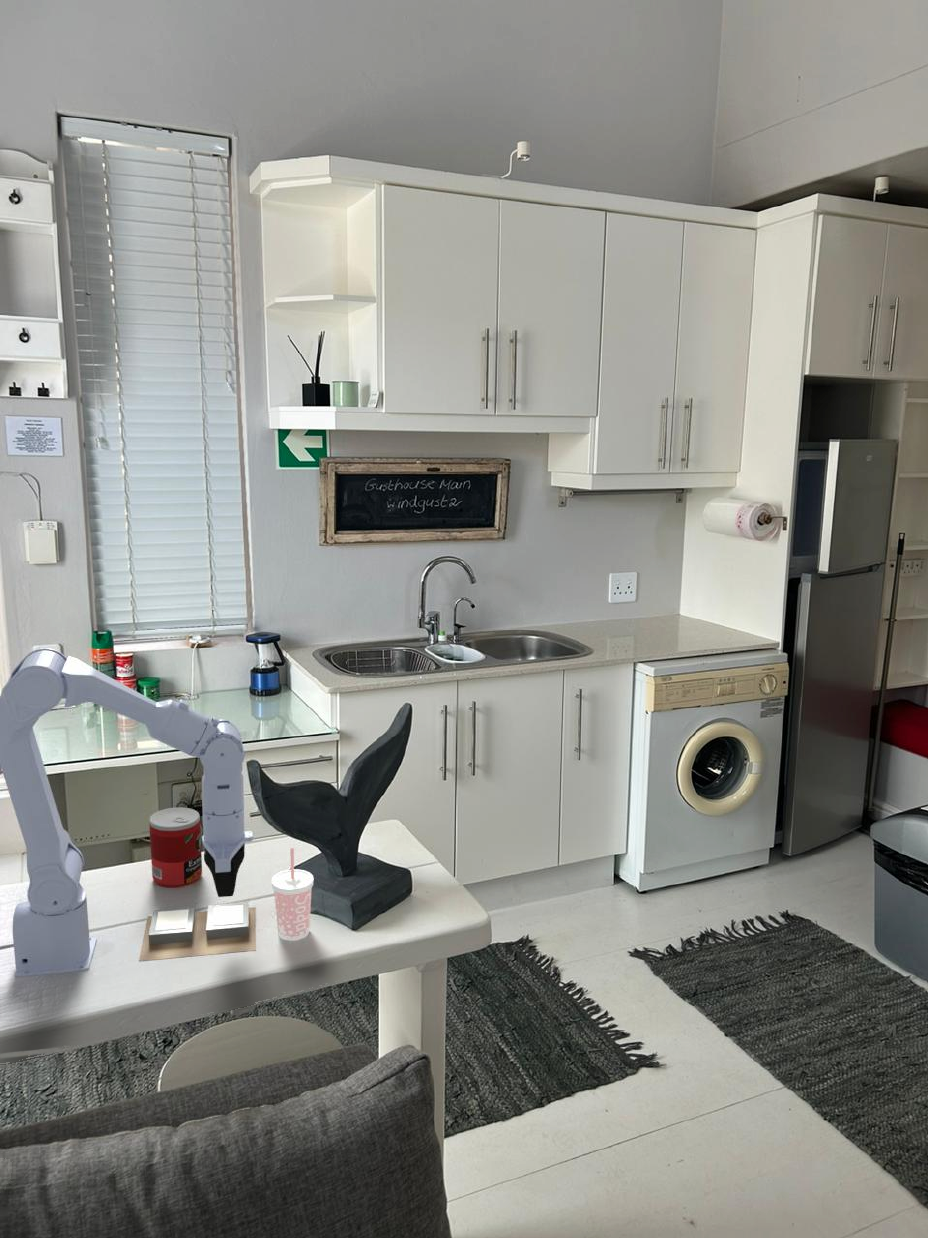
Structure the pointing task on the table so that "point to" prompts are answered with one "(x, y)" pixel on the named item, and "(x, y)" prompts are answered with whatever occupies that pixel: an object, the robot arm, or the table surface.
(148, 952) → the cork mat
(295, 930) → the beverage cup
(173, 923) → the grey framed square tile
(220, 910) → the gray framed tile
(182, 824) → the canned food
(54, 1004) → the table surface
